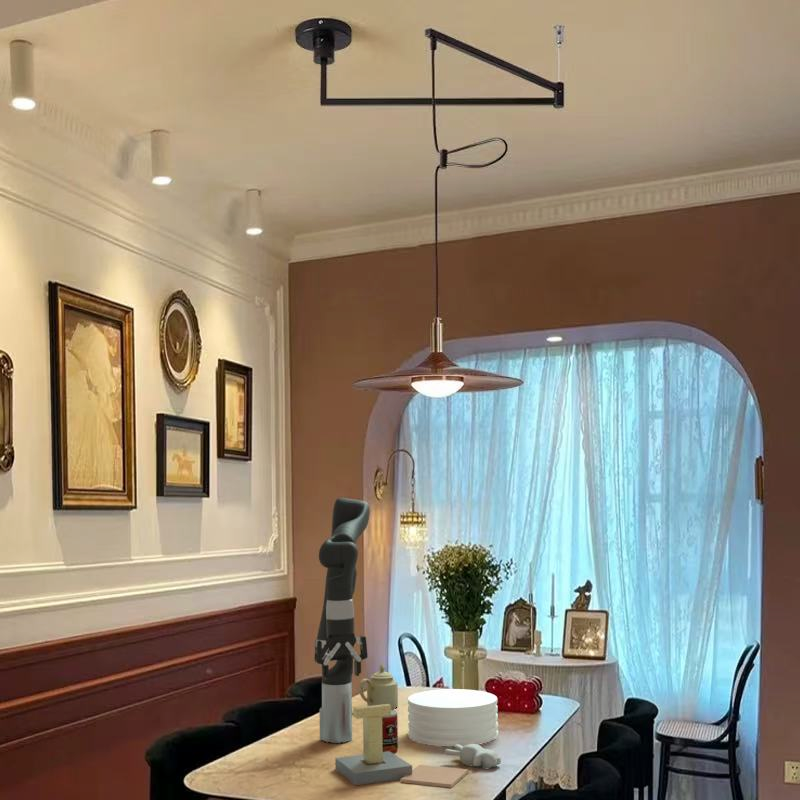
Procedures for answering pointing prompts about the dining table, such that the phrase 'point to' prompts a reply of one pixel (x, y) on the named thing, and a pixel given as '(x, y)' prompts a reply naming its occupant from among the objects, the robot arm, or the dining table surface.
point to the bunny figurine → (475, 755)
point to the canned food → (390, 732)
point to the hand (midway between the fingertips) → (341, 677)
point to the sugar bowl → (380, 689)
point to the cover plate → (372, 769)
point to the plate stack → (452, 717)
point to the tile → (435, 776)
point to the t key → (372, 731)
